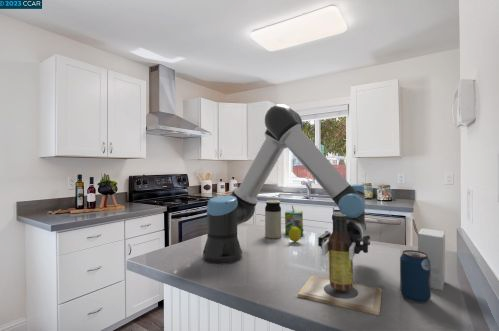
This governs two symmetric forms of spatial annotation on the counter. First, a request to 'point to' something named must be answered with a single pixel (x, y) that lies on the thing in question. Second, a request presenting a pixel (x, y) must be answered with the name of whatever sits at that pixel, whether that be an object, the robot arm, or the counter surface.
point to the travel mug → (273, 219)
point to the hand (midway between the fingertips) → (336, 252)
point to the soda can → (415, 276)
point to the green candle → (293, 220)
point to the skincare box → (434, 254)
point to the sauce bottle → (340, 255)
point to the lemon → (294, 232)
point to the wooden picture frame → (343, 295)
